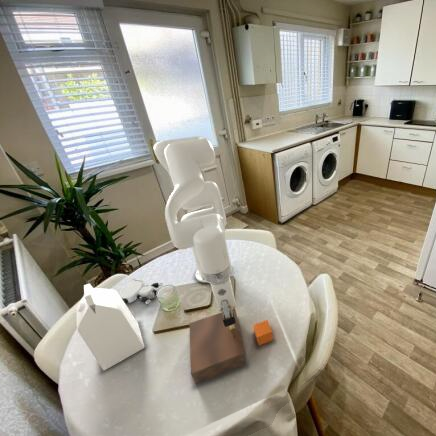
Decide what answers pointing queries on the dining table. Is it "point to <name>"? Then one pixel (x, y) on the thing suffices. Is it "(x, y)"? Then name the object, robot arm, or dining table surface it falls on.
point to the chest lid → (214, 342)
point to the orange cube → (263, 332)
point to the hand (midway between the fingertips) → (227, 311)
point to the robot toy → (138, 291)
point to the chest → (218, 369)
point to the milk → (107, 326)
